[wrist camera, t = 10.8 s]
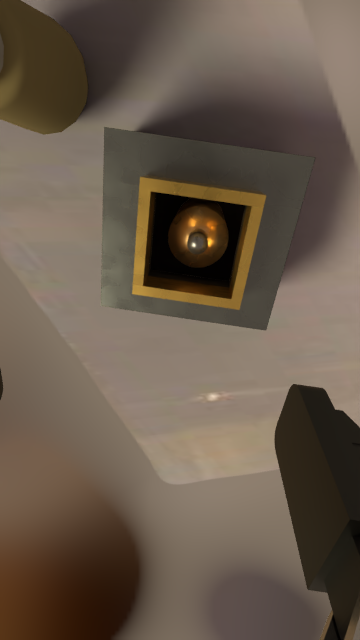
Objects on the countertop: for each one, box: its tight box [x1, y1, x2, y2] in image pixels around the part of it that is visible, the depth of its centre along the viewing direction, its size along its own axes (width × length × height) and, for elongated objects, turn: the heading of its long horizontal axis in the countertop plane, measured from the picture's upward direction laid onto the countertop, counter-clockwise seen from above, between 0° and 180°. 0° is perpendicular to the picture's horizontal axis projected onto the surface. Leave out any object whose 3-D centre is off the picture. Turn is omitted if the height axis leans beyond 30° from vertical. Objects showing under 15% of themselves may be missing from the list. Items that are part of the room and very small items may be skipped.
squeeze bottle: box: [0, 0, 88, 134], centre depth 22 cm, size 8×8×18 cm
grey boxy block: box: [101, 127, 315, 330], centre depth 29 cm, size 14×15×12 cm
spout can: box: [168, 197, 228, 268], centre depth 30 cm, size 5×5×10 cm
